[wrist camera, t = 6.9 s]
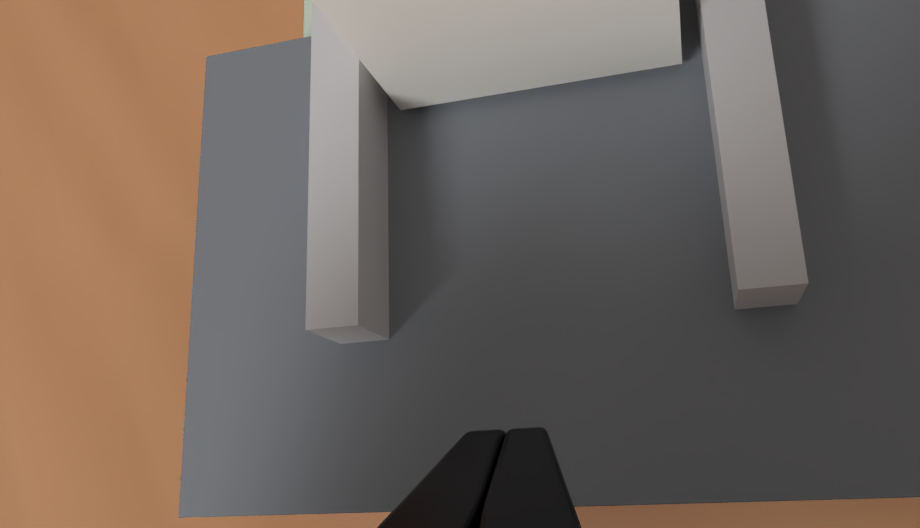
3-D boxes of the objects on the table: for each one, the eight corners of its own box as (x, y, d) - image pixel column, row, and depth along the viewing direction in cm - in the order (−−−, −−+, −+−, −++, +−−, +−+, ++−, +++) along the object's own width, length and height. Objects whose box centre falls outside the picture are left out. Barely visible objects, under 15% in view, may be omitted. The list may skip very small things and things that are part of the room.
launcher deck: (961, 489, 14) (1128, 493, 8) (310, 509, 17) (127, 520, 11) (879, 63, 16) (968, -150, 10) (316, 151, 19) (165, 21, 14)
